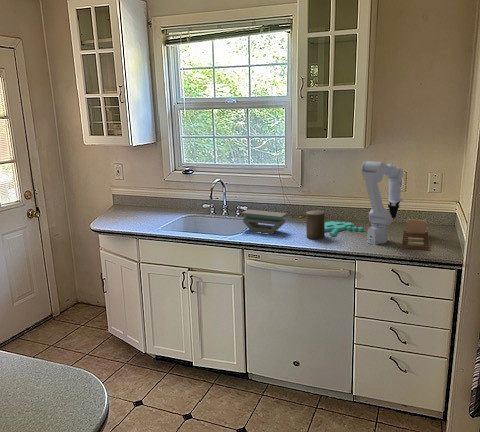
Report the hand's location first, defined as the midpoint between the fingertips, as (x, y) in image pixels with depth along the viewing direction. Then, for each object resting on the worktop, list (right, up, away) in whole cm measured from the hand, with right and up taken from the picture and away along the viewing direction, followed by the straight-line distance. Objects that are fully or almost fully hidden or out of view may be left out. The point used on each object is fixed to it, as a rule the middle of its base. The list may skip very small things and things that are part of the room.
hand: (393, 215), depth 234 cm
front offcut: (+3, -15, -20) cm, 26 cm away
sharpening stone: (-67, -9, +20) cm, 70 cm away
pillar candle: (-40, -11, +6) cm, 42 cm away
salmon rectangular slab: (+10, -10, -3) cm, 15 cm away
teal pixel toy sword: (-26, -8, +17) cm, 32 cm away
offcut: (+6, -14, -15) cm, 21 cm away
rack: (+7, -14, -12) cm, 19 cm away
